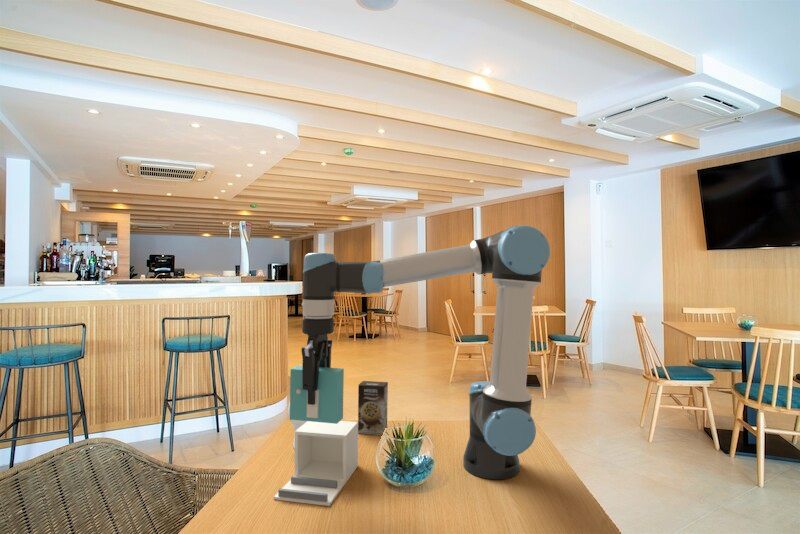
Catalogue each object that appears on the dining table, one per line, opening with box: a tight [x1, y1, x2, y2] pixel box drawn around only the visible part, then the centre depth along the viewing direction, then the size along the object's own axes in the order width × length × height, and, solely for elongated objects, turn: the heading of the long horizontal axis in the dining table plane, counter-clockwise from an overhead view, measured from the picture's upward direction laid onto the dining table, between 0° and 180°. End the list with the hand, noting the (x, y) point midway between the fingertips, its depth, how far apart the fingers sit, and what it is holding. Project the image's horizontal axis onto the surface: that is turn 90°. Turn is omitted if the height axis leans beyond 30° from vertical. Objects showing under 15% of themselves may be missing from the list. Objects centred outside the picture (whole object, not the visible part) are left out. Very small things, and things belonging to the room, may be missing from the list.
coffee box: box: [357, 380, 389, 436], centre depth 145 cm, size 9×6×16 cm
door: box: [289, 365, 345, 424], centre depth 103 cm, size 12×5×12 cm, turn 78°
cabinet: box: [273, 420, 359, 507], centre depth 110 cm, size 14×21×12 cm, turn 168°
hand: (316, 413), depth 104 cm, fingers closed on door, 4 cm apart
